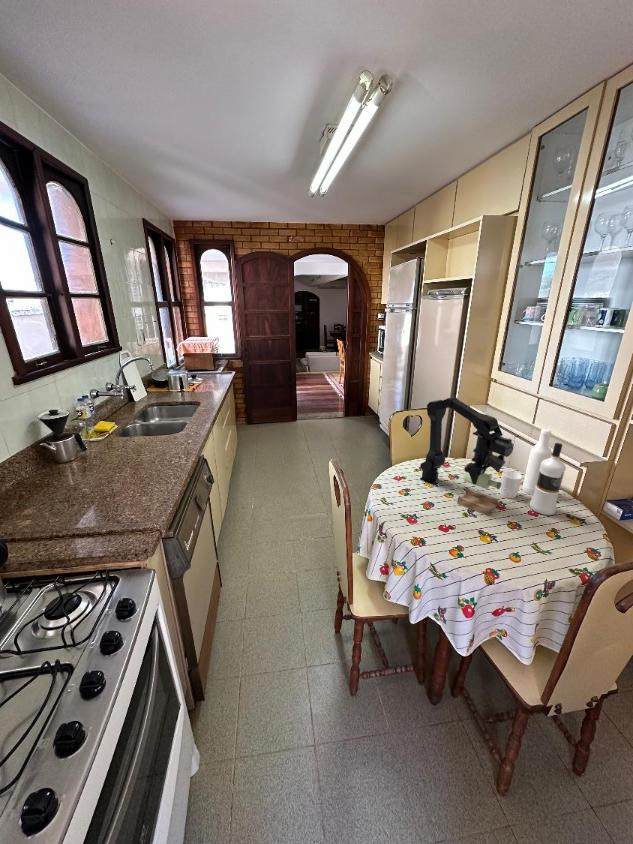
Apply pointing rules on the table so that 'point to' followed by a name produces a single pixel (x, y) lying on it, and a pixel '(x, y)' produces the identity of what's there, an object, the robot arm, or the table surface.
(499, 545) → the table surface
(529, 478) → the bottle
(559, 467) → the vodka
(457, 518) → the table surface
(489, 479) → the bottle
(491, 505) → the rest
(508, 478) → the white cup
